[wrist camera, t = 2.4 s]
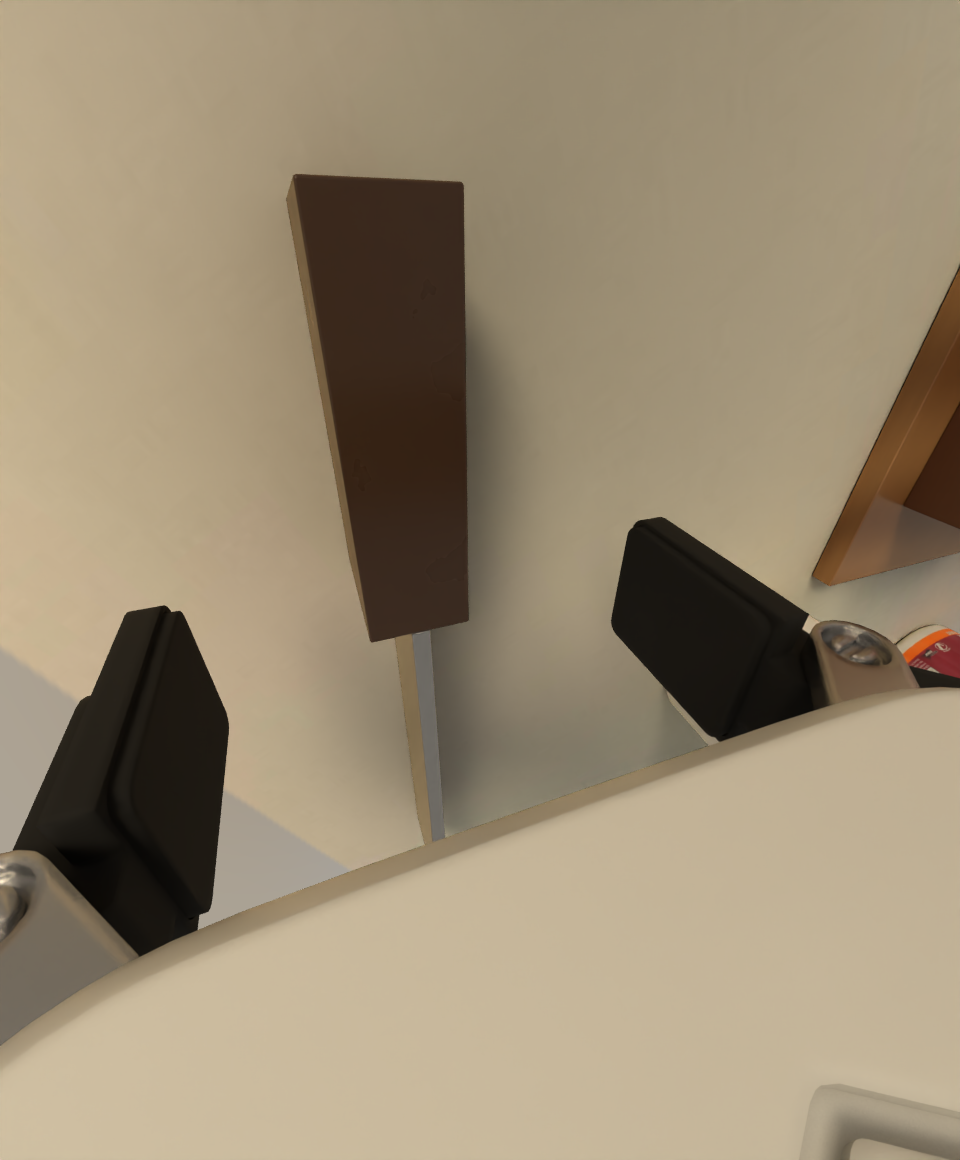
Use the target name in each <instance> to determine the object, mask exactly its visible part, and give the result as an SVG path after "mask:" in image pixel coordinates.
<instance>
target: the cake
mask: <svg viewBox="0 0 960 1160" xmlns="http://www.w3.org/2000/svg"><path fill="white" fill-rule="evenodd" d="M903 506H904V507H906V508H909V509H911V510H914V511H916V512H919V513H921V514H924V515H926V516H928V517H931V518H933V519H936V520H938V521H941V522H943V523H946V524H948V525H951V526H953V527H955V528H958V529H960V404H959V405H958V407H957V409H956V411H955V413H954V414H953V416H952V418H951V420H950V422H949V423H948V425H947V427H946V429H945V431H944V432H943V434H942V436H941V438H940V440H939V441H938V443H937V445H936V447H935V449H934V451H933V452H932V454H931V456H930V458H929V460H928V461H927V463H926V465H925V467H924V469H923V470H922V472H921V474H920V476H919V478H918V479H917V481H916V483H915V485H914V487H913V488H912V490H911V492H910V494H909V496H908V497H907V499H906V501H905V503H904V505H903Z"/></svg>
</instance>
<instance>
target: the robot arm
mask: <svg viewBox="0 0 960 1160" xmlns="http://www.w3.org/2000/svg"><path fill="white" fill-rule="evenodd" d="M808 616H809V614H808V613H806V612H805V611H803V610H802V609H800V608H799V607H797V606H796V605H794V604H793V603H791V602H790V601H788V600H787V599H785V598H784V597H782V596H781V595H779V594H778V593H776V592H775V591H773V590H772V589H770V588H769V587H767V586H766V585H764V584H763V583H761V582H760V581H758V580H757V579H755V578H754V577H752V576H751V575H749V574H748V573H746V572H745V571H743V570H742V569H740V568H739V567H737V566H736V565H734V564H733V563H731V562H730V561H728V560H727V559H725V558H724V557H722V556H721V555H719V554H718V553H716V552H715V551H713V550H712V549H710V548H709V547H707V546H706V545H704V544H703V543H701V542H700V541H698V540H697V539H695V538H694V537H692V536H691V535H689V534H688V533H686V532H685V531H683V530H682V529H680V528H679V527H677V526H676V525H674V524H673V523H671V522H670V521H668V520H667V519H665V518H663V517H657V518H651V519H646V520H640V521H638V522H636V523H635V525H634V526H633V528H632V529H630V531H629V532H628V535H627V540H626V546H625V551H624V556H623V561H622V566H621V571H620V576H619V582H618V587H617V592H616V597H615V602H614V607H613V612H612V618H611V624H612V628H613V630H614V632H615V633H616V635H617V636H618V637H619V638H620V639H621V640H622V641H623V642H624V644H625V645H626V646H627V647H628V648H629V649H630V650H631V651H632V652H633V653H634V655H635V656H636V657H637V658H638V659H639V660H640V661H641V662H642V663H643V664H644V666H645V667H646V668H647V669H648V670H649V671H650V672H651V673H652V674H653V676H654V677H655V678H656V679H657V680H658V681H659V682H660V683H661V684H662V685H663V687H664V688H665V689H666V690H667V691H668V692H669V693H670V694H671V695H672V696H673V698H674V699H675V700H676V701H677V702H678V703H679V704H680V705H681V706H682V707H683V709H684V710H685V711H686V712H687V713H688V714H689V715H690V716H691V717H692V719H693V720H694V721H695V722H696V723H697V724H698V725H699V726H700V727H701V728H702V730H703V731H704V732H705V733H706V734H708V735H709V736H711V737H715V738H716V739H717V740H718V741H719V742H718V743H716V744H713V745H710V746H707V747H704V748H701V749H698V750H695V751H692V752H689V753H686V754H683V755H680V756H677V757H675V758H672V759H669V760H666V761H663V762H660V763H657V764H654V765H651V766H649V767H646V768H643V769H640V770H637V771H634V772H631V773H628V774H626V775H623V776H620V777H617V778H614V779H611V780H608V781H605V782H602V783H600V784H597V785H594V786H591V787H588V788H585V789H582V790H580V791H577V792H574V793H571V794H568V795H565V796H562V797H559V798H557V799H554V800H551V801H548V802H545V803H542V804H539V805H537V806H534V807H531V808H528V809H525V810H522V811H519V812H516V813H514V814H511V815H508V816H505V817H502V818H500V819H497V820H494V821H491V822H488V823H485V824H483V825H480V826H477V827H474V828H471V829H468V830H466V831H463V832H460V833H457V834H454V835H452V836H449V837H446V838H443V839H440V840H437V841H435V842H432V843H429V844H426V845H423V846H420V847H418V848H415V849H412V850H409V851H406V852H403V853H401V854H398V855H395V856H392V857H389V858H387V859H384V860H381V861H378V862H375V863H372V864H370V865H367V866H364V867H361V868H358V869H356V870H353V871H350V872H348V873H345V874H342V875H339V876H337V877H334V878H331V879H329V880H326V881H323V882H321V883H318V884H315V885H313V886H310V887H307V888H304V889H302V890H299V891H296V892H294V893H291V894H288V895H286V896H283V897H281V898H278V899H275V900H273V901H270V902H267V903H264V904H261V905H259V906H256V907H253V908H251V909H248V910H245V911H243V912H240V913H238V914H235V915H233V916H231V917H228V918H226V919H223V920H221V921H218V922H216V923H214V924H212V925H209V926H206V927H204V928H202V929H199V930H198V921H199V915H200V914H203V913H206V912H208V911H209V909H210V907H211V904H212V897H213V886H214V877H215V866H216V856H217V846H218V836H219V825H220V816H221V806H222V795H223V785H224V775H225V765H226V755H227V745H228V735H229V723H228V717H227V713H226V711H225V708H224V706H223V704H222V701H221V699H220V697H219V694H218V692H217V690H216V688H215V685H214V683H213V681H212V678H211V676H210V674H209V671H208V669H207V667H206V665H205V662H204V660H203V658H202V655H201V653H200V651H199V649H198V646H197V644H196V642H195V639H194V637H193V635H192V632H191V630H190V628H189V626H188V623H187V621H186V619H185V617H184V615H183V613H182V612H181V611H176V612H171V611H170V609H169V608H168V607H167V606H165V605H164V606H158V607H153V608H147V609H141V610H136V611H130V612H127V613H126V615H125V616H124V618H123V621H122V623H121V626H120V628H119V630H118V633H117V635H116V637H115V640H114V642H113V645H112V647H111V649H110V652H109V654H108V656H107V659H106V661H105V664H104V666H103V668H102V671H101V673H100V675H99V678H98V680H97V682H96V685H95V687H94V690H93V692H92V694H91V696H87V697H85V698H84V699H82V700H81V701H80V702H79V704H78V705H77V707H76V709H75V711H74V714H73V716H72V718H71V720H70V722H69V725H68V727H67V729H66V731H65V734H64V736H63V738H62V741H61V743H60V745H59V747H58V750H57V752H56V754H55V757H54V758H53V761H52V763H51V765H50V768H49V770H48V772H47V774H46V776H45V779H44V781H43V783H42V785H41V788H40V790H39V792H38V794H37V797H36V799H35V801H34V803H33V806H32V808H31V810H30V812H29V815H28V817H27V819H26V821H25V824H24V826H23V828H22V831H21V833H20V835H19V837H18V839H17V842H16V844H15V846H14V849H13V851H10V852H6V853H1V854H0V1160H960V678H957V677H953V676H949V675H945V674H941V673H937V672H933V671H929V670H925V669H921V668H917V667H913V666H909V665H908V664H907V662H906V660H905V658H904V656H903V654H902V653H901V651H900V650H899V649H898V647H897V646H896V645H895V644H893V643H892V642H891V641H890V640H888V639H887V638H886V637H884V636H882V635H881V634H879V633H877V632H875V631H873V630H871V629H868V628H866V627H864V626H861V625H858V624H854V623H850V622H845V621H837V620H830V621H822V622H820V623H817V624H816V625H815V626H814V627H813V628H812V630H811V632H810V634H809V633H807V632H806V631H805V630H803V629H802V628H803V626H804V624H805V622H806V620H807V618H808Z"/></svg>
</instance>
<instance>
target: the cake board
mask: <svg viewBox="0 0 960 1160" xmlns="http://www.w3.org/2000/svg"><path fill="white" fill-rule="evenodd" d="M959 404H960V269H959V271H958V273H957V275H956V277H955V279H954V281H953V284H952V286H951V288H950V290H949V292H948V294H947V296H946V298H945V300H944V302H943V304H942V306H941V309H940V311H939V313H938V315H937V317H936V319H935V321H934V323H933V325H932V327H931V329H930V331H929V334H928V336H927V338H926V340H925V342H924V344H923V346H922V348H921V350H920V352H919V354H918V356H917V359H916V361H915V363H914V365H913V367H912V369H911V371H910V373H909V375H908V377H907V379H906V381H905V384H904V386H903V388H902V390H901V392H900V394H899V396H898V398H897V400H896V402H895V404H894V406H893V409H892V411H891V413H890V415H889V417H888V419H887V421H886V423H885V425H884V427H883V429H882V431H881V434H880V436H879V438H878V440H877V442H876V444H875V446H874V448H873V450H872V452H871V454H870V456H869V459H868V461H867V463H866V465H865V467H864V469H863V471H862V473H861V475H860V477H859V479H858V481H857V484H856V486H855V488H854V490H853V492H852V494H851V496H850V498H849V500H848V502H847V504H846V506H845V509H844V511H843V513H842V515H841V517H840V519H839V521H838V523H837V525H836V527H835V529H834V531H833V534H832V536H831V538H830V540H829V542H828V544H827V546H826V548H825V550H824V552H823V554H822V556H821V559H820V561H819V563H818V565H817V567H816V569H815V571H814V573H813V577H815V578H817V579H818V580H820V581H822V582H823V583H825V584H827V585H828V586H832V585H836V584H839V583H843V582H847V581H851V580H855V579H859V578H863V577H866V576H870V575H874V574H878V573H882V572H886V571H890V570H893V569H897V568H901V567H905V566H909V565H913V564H917V563H920V562H924V561H928V560H932V559H936V558H940V557H944V556H947V555H951V554H955V553H959V552H960V529H958V528H955V527H953V526H951V525H948V524H946V523H943V522H941V521H938V520H936V519H933V518H931V517H928V516H926V515H924V514H921V513H919V512H916V511H914V510H911V509H909V508H906V507H904V506H903V505H904V503H905V501H906V499H907V497H908V496H909V494H910V492H911V490H912V488H913V487H914V485H915V483H916V481H917V479H918V478H919V476H920V474H921V472H922V470H923V469H924V467H925V465H926V463H927V461H928V460H929V458H930V456H931V454H932V452H933V451H934V449H935V447H936V445H937V443H938V441H939V440H940V438H941V436H942V434H943V432H944V431H945V429H946V427H947V425H948V423H949V422H950V420H951V418H952V416H953V414H954V413H955V411H956V409H957V407H958V405H959Z"/></svg>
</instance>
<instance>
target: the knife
mask: <svg viewBox="0 0 960 1160" xmlns="http://www.w3.org/2000/svg"><path fill="white" fill-rule="evenodd" d="M286 201H287V207H288V213H289V218H290V224H291V230H292V235H293V241H294V247H295V252H296V258H297V264H298V269H299V275H300V281H301V286H302V292H303V298H304V303H305V309H306V315H307V320H308V326H309V332H310V337H311V343H312V349H313V354H314V360H315V366H316V371H317V377H318V383H319V388H320V394H321V400H322V405H323V411H324V417H325V422H326V428H327V434H328V439H329V445H330V451H331V456H332V462H333V468H334V473H335V479H336V485H337V490H338V496H339V502H340V507H341V513H342V519H343V524H344V530H345V536H346V541H347V547H348V553H349V558H350V563H351V567H352V571H353V575H354V579H355V583H356V587H357V591H358V595H359V599H360V603H361V607H362V611H363V615H364V619H365V623H366V627H367V631H368V635H369V639H370V641H371V642H377V641H381V640H386V639H390V638H395V644H396V651H397V659H398V667H399V675H400V683H401V691H402V699H403V706H404V714H405V722H406V730H407V738H408V746H409V753H410V761H411V769H412V777H413V785H414V793H415V800H416V808H417V815H418V820H419V824H420V828H421V832H422V836H423V840H424V844H425V845H426V844H429V843H432V842H435V841H437V840H440V839H443V838H445V829H444V815H443V801H442V787H441V772H440V758H439V744H438V730H437V716H436V702H435V688H434V674H433V660H432V646H431V631H430V630H431V629H435V628H440V627H444V626H449V625H453V624H458V623H462V622H467V621H468V620H469V604H468V517H467V430H466V342H465V255H464V185H463V183H462V182H456V181H435V180H414V179H392V178H371V177H350V176H329V175H308V174H295V175H293V178H292V181H291V185H290V188H289V191H288V195H287V198H286Z"/></svg>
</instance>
